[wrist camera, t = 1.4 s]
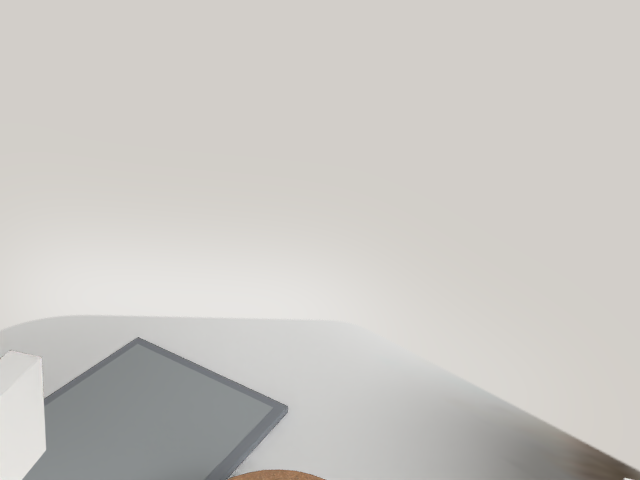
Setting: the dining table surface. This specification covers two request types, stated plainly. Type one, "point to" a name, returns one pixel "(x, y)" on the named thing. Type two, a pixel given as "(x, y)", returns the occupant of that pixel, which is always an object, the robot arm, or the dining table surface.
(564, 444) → the dining table surface
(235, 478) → the lidded jar
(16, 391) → the robot arm
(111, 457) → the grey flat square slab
